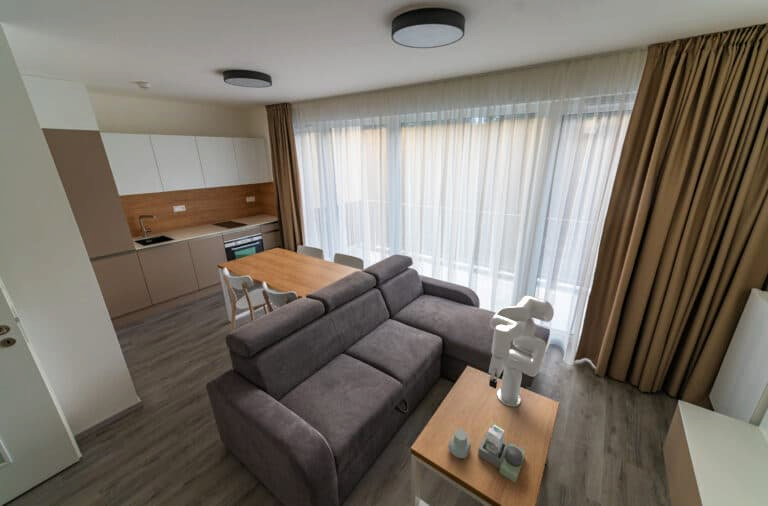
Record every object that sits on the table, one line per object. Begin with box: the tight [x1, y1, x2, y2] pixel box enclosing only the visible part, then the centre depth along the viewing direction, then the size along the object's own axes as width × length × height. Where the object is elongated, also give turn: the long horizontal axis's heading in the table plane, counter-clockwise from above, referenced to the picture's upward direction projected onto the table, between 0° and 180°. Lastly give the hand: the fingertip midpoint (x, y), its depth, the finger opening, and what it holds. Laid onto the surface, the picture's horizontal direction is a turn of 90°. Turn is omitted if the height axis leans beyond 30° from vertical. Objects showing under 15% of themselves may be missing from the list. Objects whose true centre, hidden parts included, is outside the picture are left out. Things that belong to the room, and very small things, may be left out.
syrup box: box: [484, 423, 505, 458], centre depth 132 cm, size 6×6×14 cm
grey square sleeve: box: [477, 431, 526, 484], centre depth 132 cm, size 14×17×7 cm
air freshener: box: [448, 429, 472, 459], centre depth 135 cm, size 11×8×10 cm
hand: (496, 380), depth 137 cm, fingers open, 9 cm apart
